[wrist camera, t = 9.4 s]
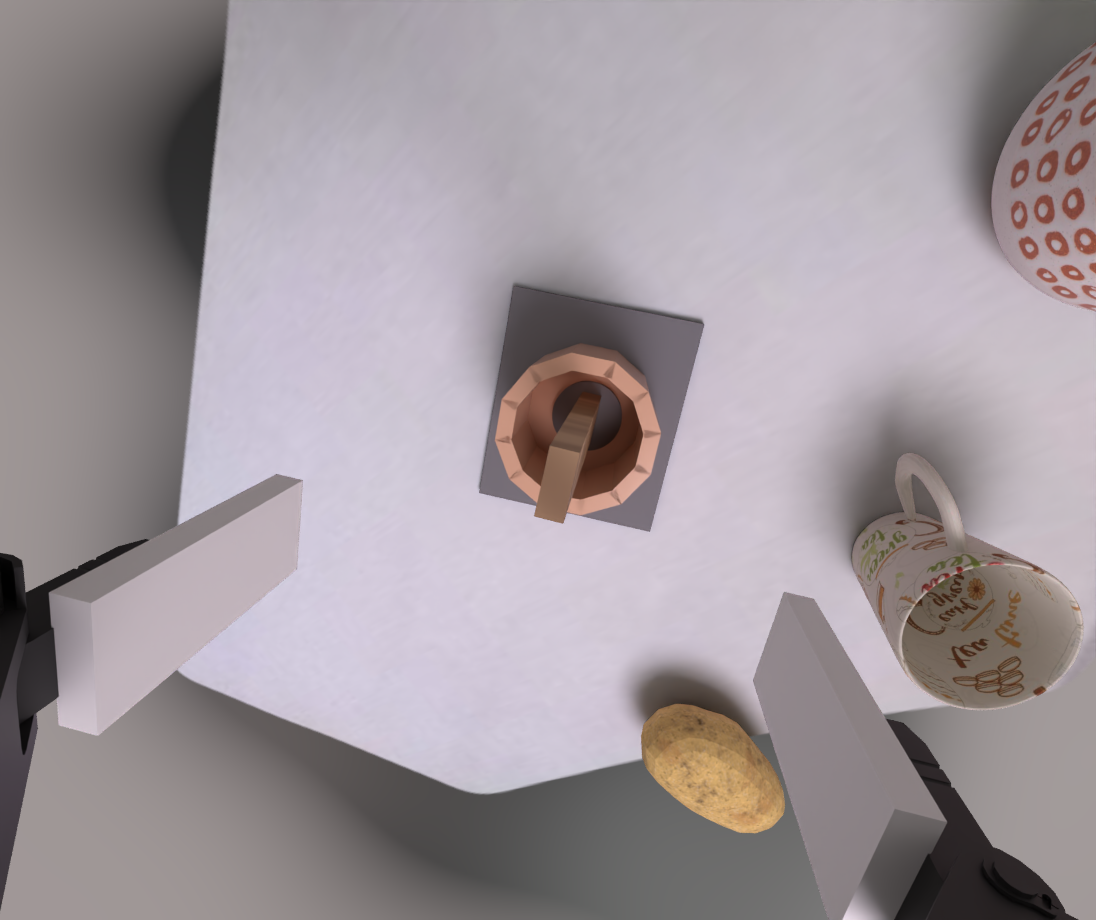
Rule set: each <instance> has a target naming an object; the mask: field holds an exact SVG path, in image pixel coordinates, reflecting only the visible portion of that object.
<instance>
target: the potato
mask: <svg viewBox="0 0 1096 920" xmlns="http://www.w3.org/2000/svg"><path fill="white" fill-rule="evenodd" d="M641 744H642V758H643V760H644V763H645V766H646V768H647V769H648V771H649V772H650V773H651V775H652V776H653V777H654V778H655V779H656V781H657V782H658V783H659V784H660V785H661V786H662V787H663V788H665V789H666V790H667V791H668V792H669V793H670V794H671V795H672V796H674V797H675V798H676V799H677V800H678V801H680V802H681V803H682V804H684V805H685V806H686V807H688V808H689V809H690V810H692V811H694V812H696V813H698V814H699V815H701V816H703V817H705V818H707V819H709V820H711V821H713V822H715V823H718V824H720V825H722V826H724V827H727V828H729V829H732V830H734V831H737V832H741V833H757V832H760V831H763V830H766V829H769V828H771V827H772V826H773V825H774V824H775V823H776V822H777V821H778V820H779V818H780V817H781V816H782V815H783V814H784V807H785V802H784V795H783V789H782V786H781V784H780V781H779V778H778V776H777V774H776V773H775V771H774V769H773V767H772V766H771V764H770V762H769V761H768V760H767V758H766V757H765V756H764V755H763V754H762V752H761V751H760V750H759V749H758V747H757V746H756V745H755V743H754V742H753V741H752V740H751V739H750V737H749V736H748V735H747V734H746V732H745V731H744V730H743V729H742V728H741V727H740V725H739V724H738V723H736V722H735V721H733V720H731V719H730V718H728V717H726V716H724V715H722V714H718V713H715V712H711V711H708V710H705V709H702V708H699V707H696V706H694V705H685V704H673V705H670V706H667V707H664V708H661V709H658V710H657V711H656V712H655V713H654V714H653V715H652V716H651V717H650V718H649V719H648V720H647V721H646V722H645V723H644V725H643V730H642V735H641Z"/></svg>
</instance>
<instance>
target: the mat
mask: <svg viewBox="0 0 1096 920" xmlns="http://www.w3.org/2000/svg"><path fill="white" fill-rule="evenodd" d="M703 328H704V324H701V323H696V322H691V321H686V320H681V319H676V318H671V317H666V316H661V315H656V314H651V313H646V312H641V311H636V310H631V309H626V308H621V307H616V306H611V305H606V304H601V303H596V302H591V301H586V300H582V299H577V298H572V297H567V296H562V295H557V294H552V293H547V292H542V291H537V290H532V289H527V288H522V287H517V286H513V292H512V298H511V304H510V310H509V316H508V322H507V328H506V334H505V340H504V347H503V353H502V359H501V365H500V371H499V377H498V383H497V389H496V395H495V401H494V407H493V413H492V419H491V425H490V431H489V437H488V443H487V449H486V455H485V461H484V467H483V473H482V479H481V485H480V491H479V493H482V494H486V495H491V496H495V497H500V498H504V499H508V500H513V501H517V502H522V503H526V504H530V505H535V506H537V503H536V502H535V501H534V500H533V499H532V498H531V497H529V496H528V495H527V494H526V493H525V492H524V491H523V490H521V489H520V488H519V487H518V486H517V485H516V484H514V483H513V482H512V481H511V480H510V479H509V477H508V474H507V472H506V469H505V466H504V464H503V461H502V458H501V455H500V453H499V450H498V447H497V445H496V442H495V437H496V431H497V425H498V419H499V413H500V407H501V401H502V398H503V397H504V396H505V395H506V394H507V393H508V392H509V390H510V389H511V388H512V387H513V386H514V384H515V383H516V382H517V381H518V380H519V379H520V377H521V376H522V375H523V374H524V373H525V372H526V370H527V369H528V368H529V367H530V366H531V365H533V364H534V363H535V362H537V361H538V360H539V359H541V358H542V357H543V356H545V355H547V354H550V353H553V352H556V351H559V350H562V349H565V348H568V347H570V346H573V345H576V344H579V343H583V344H588V345H592V346H597V347H602V348H607V349H612V350H617V351H618V352H619V353H620V354H622V355H623V356H624V357H625V358H626V359H627V360H628V361H629V362H630V363H631V364H633V365H634V366H635V367H636V368H637V369H638V370H639V371H640V372H641V373H642V374H644V375H645V378H646V381H647V384H648V388H649V391H650V394H651V397H652V401H653V404H654V407H655V410H656V414H657V418H658V422H659V426H660V430H661V436H660V440H659V444H658V448H657V452H656V456H655V460H654V464H653V468H652V472H651V475H650V476H649V477H648V478H647V479H646V480H645V481H644V482H643V483H642V484H641V485H640V486H639V487H638V488H637V489H636V490H635V491H634V492H633V493H632V494H631V495H630V496H629V497H628V498H627V499H626V500H625V501H624V502H623V503H622V504H620V505H616V506H613V507H609V508H606V509H602V510H598V511H595V512H591V513H588V514H584V515H579V516H583V517H588V518H592V519H596V520H601V521H605V522H609V523H614V524H618V525H623V526H627V527H631V528H636V529H640V530H645V531H649V532H650V529H651V526H652V522H653V518H654V514H655V510H656V507H657V503H658V499H659V495H660V491H661V487H662V484H663V480H664V476H665V472H666V468H667V465H668V461H669V457H670V453H671V449H672V446H673V442H674V438H675V434H676V430H677V427H678V423H679V419H680V415H681V411H682V407H683V404H684V400H685V396H686V392H687V388H688V385H689V381H690V377H691V373H692V369H693V366H694V362H695V358H696V354H697V350H698V347H699V343H700V339H701V335H702V331H703ZM567 513H569V512H567ZM570 514H573V513H570ZM574 515H577V514H574Z"/></svg>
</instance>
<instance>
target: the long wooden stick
mask: <svg viewBox="0 0 1096 920" xmlns="http://www.w3.org/2000/svg"><path fill="white" fill-rule="evenodd" d="M552 421H553V426H554V428H555V431H556V433H557V435H556V436H555V438H554V440H553V441H552V443H551V444H550V447H549V451H548V456H547V461H546V465H545V470H544V474H543V479H542V483H541V488H540V492H539V497H538V501H537V506H536V510H535V515H534V516H535V517H539V518H543V519H547V520H551V521H555V522H558V523H562V524H563V523H564V520H565V517H566V514H567V511H568V508H569V505H570V502H571V499H572V496H573V493H574V490H575V487H576V484H577V481H578V478H579V475H580V472H581V469H582V466H583V463H584V460H585V457H586V454H587V451H591V450H597V449H600V448H602V447H604V446H606V445H607V444H609V443H610V442H611V441H612V440H613V439H614V438H615V437H616V435H617V433H618V431H619V429H620V426H621V422H622V409H621V405H620V402H619V400H618V398H617V397H616V395H615V394H614V393H613V392H612V390H610V389H609V388H608V387H606V386H605V385H603V384H601V383H598V382H594V381H581V382H577V383H574V384H572V385H570V386H568V387H567V388H566V389H564V390H563V391H562V392H561V394H560V395H559V396H558V398H557V399H556V401H555V403H554V406H553V411H552Z"/></svg>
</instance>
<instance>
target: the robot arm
mask: <svg viewBox="0 0 1096 920" xmlns="http://www.w3.org/2000/svg"><path fill="white" fill-rule="evenodd" d="M302 487H303V480H300V479H295V478H291V477H287V476H282V475H278V474H276V475H274V476H272V477H270V478H268V479H266V480H264V481H263V482H261V483H259V484H257V485H255V486H253V487H251V488H249V489H247V490H245V491H243V492H241V493H239V494H238V495H236V496H234V497H232V498H230V499H228V500H226V501H224V502H222V503H220V504H218V505H216V506H214V507H213V508H211V509H209V510H207V511H205V512H203V513H201V514H199V515H197V516H195V517H193V518H191V519H189V520H188V521H186V522H184V523H182V524H180V525H178V526H176V527H174V528H172V529H170V530H168V531H166V532H165V533H163V534H161V535H159V536H157V537H155V538H153V539H151V540H147V539H144V540H140V541H137V542H133V543H129V544H126V545H122V546H118V547H116V548H114V549H112V550H110V551H109V552H106V553H104V554H102V555H100V556H98V557H97V558H96V560H90V561H88V562H86V563H84V564H82V565H80V566H79V567H78V569H72V570H70V571H68V572H66V573H64V574H62V575H60V576H58V577H56V578H54V579H52V580H50V581H48V582H46V583H44V584H42V585H40V586H38V587H36V588H34V589H32V590H30V591H28V592H26V593H25V582H24V573H23V572H24V571H23V565H22V560H20V559H19V558H17V557H15V556H14V555H9V554H3V553H0V909H1V904H2V899H3V895H4V890H5V885H6V880H7V874H8V870H9V865H10V860H11V856H12V851H13V846H14V841H15V836H16V831H17V826H18V822H19V817H20V812H21V807H22V802H23V797H24V793H25V787H26V782H27V777H28V773H29V768H30V763H31V758H32V754H33V749H34V744H35V739H36V734H37V729H38V727H37V716H36V713H37V712H38V711H39V710H41V709H42V708H44V707H45V706H47V705H48V704H49V703H51V702H52V701H54V700H55V699H56V698H57V707H58V720H59V725H60V726H64V727H67V728H71V729H75V730H78V731H82V732H86V733H90V734H93V735H97V736H98V735H99V734H100V733H101V732H103V731H104V730H105V729H106V728H108V727H109V726H110V725H111V724H112V723H114V722H115V721H116V720H117V719H118V718H120V717H121V716H122V715H123V714H124V713H126V712H127V711H128V710H129V709H130V708H132V707H133V706H134V705H135V704H136V703H138V702H139V701H140V700H141V699H142V698H144V697H145V696H146V695H147V694H148V693H149V692H151V691H152V690H153V689H154V688H155V687H157V686H158V685H159V684H160V683H161V682H162V681H164V680H165V679H166V678H167V677H169V676H170V675H171V674H172V673H173V672H175V671H176V670H177V669H178V668H179V667H181V666H182V665H183V664H184V663H185V662H187V661H188V660H189V659H190V658H191V657H193V656H194V655H195V654H196V653H197V652H198V651H200V650H201V649H202V648H203V647H204V646H206V645H207V644H208V643H209V642H210V641H212V640H213V639H214V638H215V637H216V636H218V635H219V634H220V633H221V632H222V631H224V630H225V629H226V628H227V627H228V626H230V625H231V624H232V623H233V622H234V621H236V620H237V619H238V618H239V617H240V616H242V615H243V614H244V613H245V612H246V611H247V610H249V609H250V608H251V607H252V606H253V605H255V604H256V603H257V602H258V601H259V600H261V599H262V598H263V597H264V596H265V595H267V594H268V593H269V592H270V591H271V590H273V589H274V588H275V587H276V586H277V585H279V584H280V583H281V582H282V581H283V580H285V579H286V578H287V577H288V576H289V575H291V574H292V573H293V572H294V571H295V570H296V569H297V561H298V546H299V531H300V517H301V502H302ZM753 682H754V685H755V689H756V692H757V695H758V698H759V701H760V704H761V708H762V711H763V714H764V717H765V720H766V723H767V727H768V730H769V733H770V736H771V739H772V742H773V746H774V749H775V752H776V755H777V758H778V761H779V765H780V767H781V771H782V774H783V777H784V780H785V783H786V786H787V790H788V793H789V796H790V799H791V802H792V805H793V809H794V812H795V815H796V818H797V821H798V825H799V828H800V831H801V834H802V837H803V840H804V843H805V847H806V850H807V853H808V856H809V859H810V863H811V866H812V869H813V872H814V875H815V878H816V881H817V885H818V888H819V891H820V894H821V897H822V901H823V903H824V907H825V909H826V913H827V916H828V920H1078V919H1076V918H1074V917H1072V916H1070V915H1068V914H1066V913H1065V909H1064V907H1063V906H1062V904H1061V902H1060V901H1059V899H1058V897H1057V896H1056V894H1055V893H1054V891H1053V890H1052V889H1051V888H1050V887H1049V886H1048V885H1047V884H1046V883H1045V882H1044V881H1043V880H1042V879H1041V878H1040V876H1038V875H1037V874H1036V873H1035V872H1033V871H1032V870H1031V869H1030V868H1028V867H1027V866H1026V865H1024V864H1023V863H1022V862H1021V861H1019V860H1017V859H1016V858H1014V857H1012V856H1010V855H1009V854H1007V853H1005V852H1003V851H1001V850H1000V849H997V848H993V847H992V845H991V843H990V842H989V840H988V839H987V837H986V836H985V834H984V833H983V831H982V830H981V828H980V827H979V825H978V824H977V822H976V820H975V819H974V818H973V816H972V814H971V813H970V811H969V810H968V808H967V807H966V805H965V804H964V802H963V801H962V799H961V798H960V796H959V795H958V793H957V792H956V790H955V788H952V787H951V782H950V781H949V779H948V778H947V776H946V775H945V773H944V771H943V770H941V769H939V766H940V765H939V764H938V762H937V761H936V759H935V758H934V756H933V755H932V753H931V752H930V750H929V749H928V747H927V746H926V744H925V743H924V742H923V741H922V740H921V739H920V738H919V737H918V736H917V735H915V734H914V733H913V732H912V731H911V730H910V729H909V728H908V727H907V726H906V725H905V724H904V723H901V722H898V721H894V720H889V719H885V717H884V715H883V714H882V712H881V710H880V709H879V707H878V705H877V704H876V702H875V700H874V699H873V697H872V695H871V694H870V692H869V690H868V689H867V687H866V685H865V684H864V682H863V680H862V679H861V677H860V675H859V674H858V672H857V670H856V669H855V667H854V665H853V664H852V662H851V660H850V659H849V657H848V655H847V654H846V652H845V650H844V648H843V647H842V645H841V643H840V642H839V640H838V638H837V637H836V635H835V633H834V632H833V630H832V628H831V627H830V625H829V623H828V622H827V620H826V618H825V617H824V615H823V613H822V612H821V610H820V608H819V607H818V605H817V603H816V602H815V600H814V599H812V598H808V597H804V596H799V595H795V594H791V593H786V592H784V593H783V596H782V599H781V602H780V605H779V607H778V610H777V613H776V616H775V619H774V622H773V625H772V627H771V630H770V633H769V636H768V639H767V642H766V644H765V647H764V650H763V653H762V656H761V659H760V662H759V664H758V667H757V670H756V673H755V676H754V679H753Z"/></svg>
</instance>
